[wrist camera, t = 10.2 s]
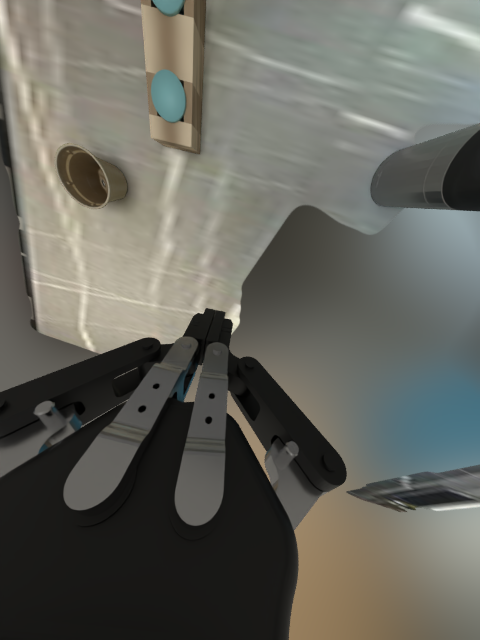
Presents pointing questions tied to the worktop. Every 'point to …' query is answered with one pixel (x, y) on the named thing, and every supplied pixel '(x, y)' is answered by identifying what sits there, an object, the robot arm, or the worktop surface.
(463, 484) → the worktop surface
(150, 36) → the oak block
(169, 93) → the teal peg
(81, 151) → the flower pot
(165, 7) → the teal peg
